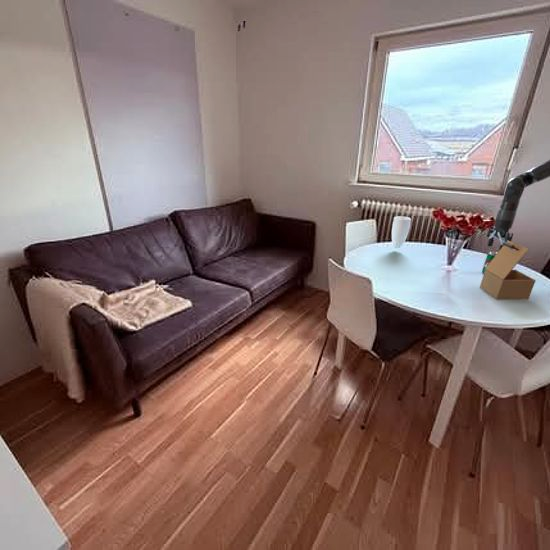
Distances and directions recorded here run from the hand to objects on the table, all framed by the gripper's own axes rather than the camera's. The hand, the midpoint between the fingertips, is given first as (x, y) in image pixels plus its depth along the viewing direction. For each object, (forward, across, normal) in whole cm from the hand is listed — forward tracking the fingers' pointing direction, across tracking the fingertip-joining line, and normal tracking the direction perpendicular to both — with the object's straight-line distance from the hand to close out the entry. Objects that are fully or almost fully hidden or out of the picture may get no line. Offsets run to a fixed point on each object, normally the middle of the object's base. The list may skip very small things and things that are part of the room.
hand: (494, 248), depth 162 cm
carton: (+14, -23, +8) cm, 28 cm away
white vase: (+14, +34, +36) cm, 52 cm away
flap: (-3, -23, +12) cm, 26 cm away
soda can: (+14, 0, 0) cm, 14 cm away
